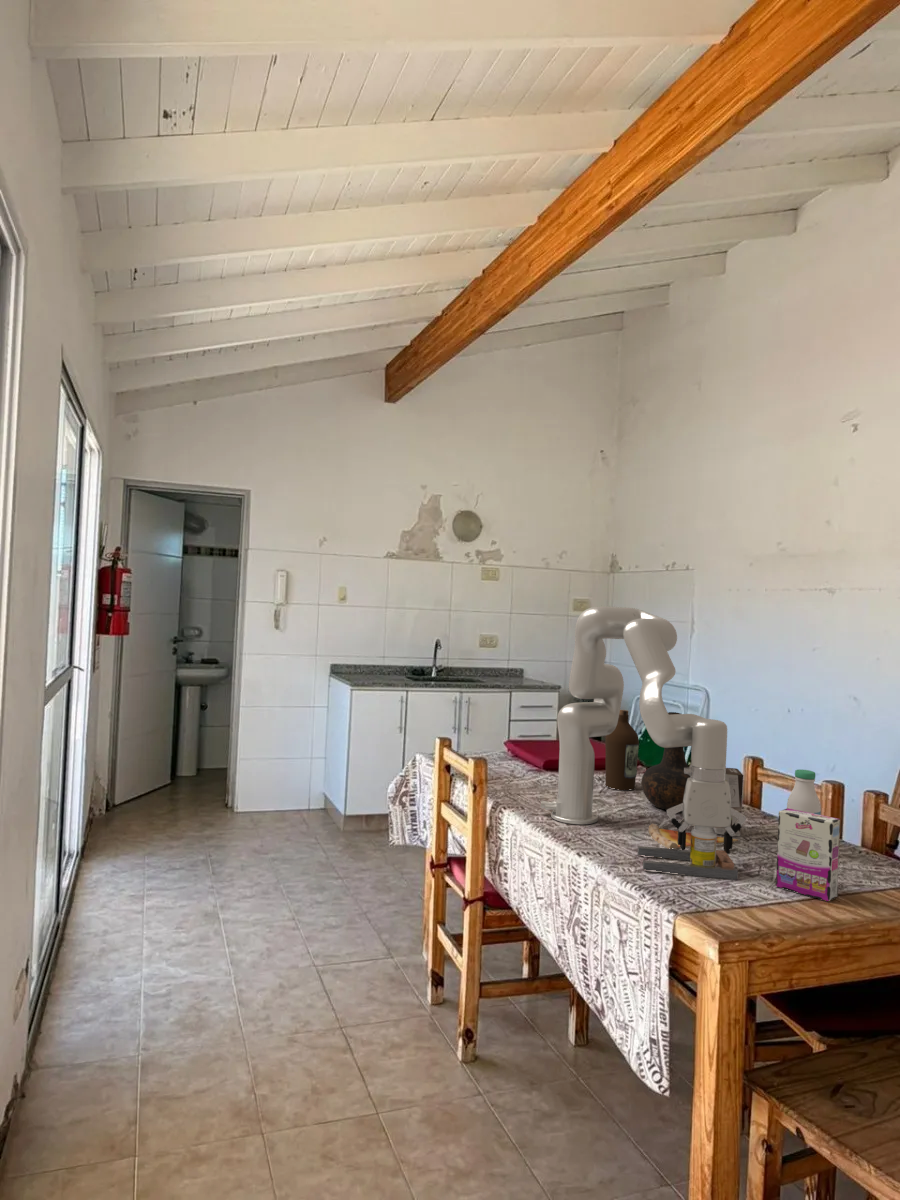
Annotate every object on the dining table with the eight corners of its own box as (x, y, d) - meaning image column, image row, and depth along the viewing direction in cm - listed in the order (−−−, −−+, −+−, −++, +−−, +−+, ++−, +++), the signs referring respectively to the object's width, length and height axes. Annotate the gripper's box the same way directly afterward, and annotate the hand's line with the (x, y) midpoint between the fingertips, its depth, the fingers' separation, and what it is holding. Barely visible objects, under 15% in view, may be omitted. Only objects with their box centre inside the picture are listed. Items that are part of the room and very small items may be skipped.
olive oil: (596, 786, 252) (600, 709, 252) (615, 782, 260) (618, 707, 260) (624, 793, 245) (628, 713, 245) (643, 788, 252) (646, 711, 252)
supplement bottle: (695, 862, 180) (697, 817, 180) (719, 868, 177) (721, 823, 177) (685, 867, 176) (687, 822, 176) (709, 874, 172) (711, 828, 172)
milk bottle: (804, 858, 186) (808, 775, 186) (777, 849, 193) (781, 768, 193) (826, 855, 190) (829, 773, 190) (798, 845, 197) (802, 766, 197)
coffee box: (741, 837, 202) (744, 775, 202) (715, 834, 203) (718, 772, 203) (735, 827, 211) (738, 767, 211) (711, 824, 212) (713, 765, 212)
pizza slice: (738, 861, 184) (738, 852, 184) (642, 847, 191) (642, 839, 191) (737, 843, 198) (738, 835, 198) (648, 830, 206) (649, 822, 206)
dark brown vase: (693, 801, 238) (697, 709, 238) (711, 817, 220) (715, 718, 220) (634, 798, 239) (638, 707, 239) (647, 813, 221) (652, 715, 221)
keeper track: (643, 871, 172) (644, 858, 172) (637, 854, 184) (638, 841, 184) (737, 879, 169) (738, 866, 169) (725, 861, 181) (725, 848, 181)
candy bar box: (838, 897, 161) (841, 818, 161) (829, 903, 158) (833, 822, 158) (784, 881, 169) (787, 806, 169) (774, 887, 166) (777, 810, 166)
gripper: (671, 775, 173) (667, 852, 173) (751, 781, 171) (748, 858, 171) (666, 768, 181) (662, 841, 181) (743, 773, 179) (740, 848, 179)
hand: (704, 850), depth 176 cm, fingers open, 9 cm apart
